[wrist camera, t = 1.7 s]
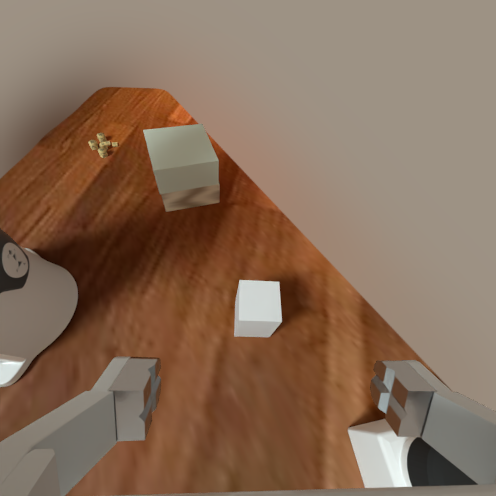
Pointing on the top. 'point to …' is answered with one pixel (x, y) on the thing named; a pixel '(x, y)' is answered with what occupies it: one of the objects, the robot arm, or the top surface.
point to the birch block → (191, 197)
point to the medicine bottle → (400, 459)
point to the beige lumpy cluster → (101, 145)
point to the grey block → (257, 308)
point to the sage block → (182, 158)
